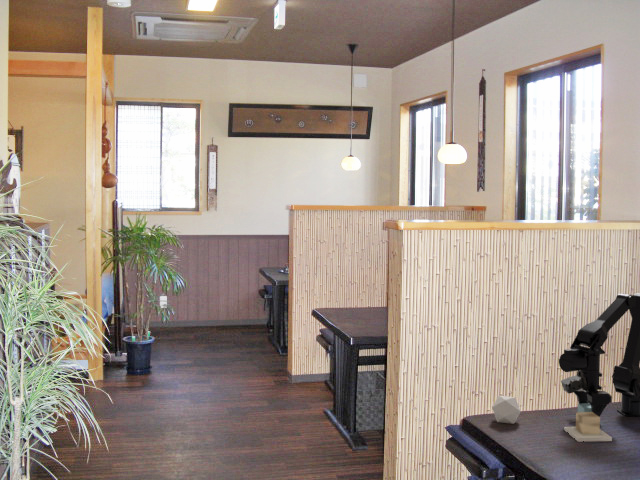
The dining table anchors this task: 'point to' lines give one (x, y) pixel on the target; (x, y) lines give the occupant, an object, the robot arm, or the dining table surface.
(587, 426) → the maple brick
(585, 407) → the teal brick
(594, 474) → the dining table surface
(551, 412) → the dining table surface
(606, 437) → the plate
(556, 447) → the dining table surface
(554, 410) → the dining table surface
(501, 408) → the die
